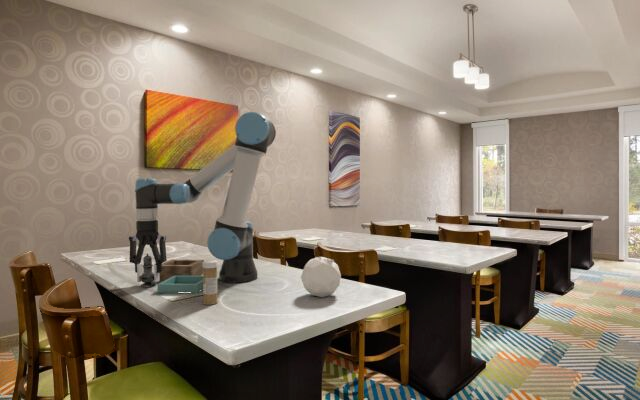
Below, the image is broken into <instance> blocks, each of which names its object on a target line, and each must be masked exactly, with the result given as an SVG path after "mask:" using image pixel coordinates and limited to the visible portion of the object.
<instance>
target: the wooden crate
mask: <svg viewBox="0 0 640 400" xmlns="http://www.w3.org/2000/svg"><path fill="white" fill-rule="evenodd" d="M203 261H205V259H170V260H167V261H166V262H163V263H162V264H161V265H162V271H161V272H160V281H159V282H163V281H165V280H167V279H169V278H171V277H173V276H203Z"/></svg>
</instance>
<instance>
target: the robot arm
mask: <svg viewBox="0 0 640 400" xmlns="http://www.w3.org/2000/svg"><path fill="white" fill-rule="evenodd" d="M234 130H235V131H234V132H235V135H236V138H235V143H234V144H233V145H232V146H230V147H228V149H226V150H225V151H224V152H222V153H221V154H219V155H218V156H217V157H216V158H214V159H213V160H212V161H211V162H209V163H208V164H206V165H205V166H204V167H203V168H201V169H199V171H198V172H196V173H194V175H192V176H191V177H190V178H188V179H187V180H185V181H184V182H183V183H182V182H181V183H178V182H177V183H158V179H156V178H137V179H136V180H135V186H134V187H135V190H134V193H135V219H136V222H135V223H136V224H135V225H136V230H135V231H136V233H135V235H131V236H130V235H129V236H128V241H129V263H131V264H134V272H135V273H136V275H137V277H136V278H137V280H136V281H137V283H140V282H142V281H141V279H140V277H139V276H141V275H142V274H143V265H144V262H143V263H142V258H143V255H144V254H143V253H144V251H145V247H146V245H148V246H149V247H150V249H151V253H152V255H153V259H154V261H155V264H153V274H154V281H153V283H157V282H161V281H160V272H161V271H162V265H161V264H162V263H165V262H167V261H168V260H167V249H166V248H167V247H166V240H167V236H166V235H161V234H160V233H159V221H158V218H159V212H158V210H159V209H158V206H159V205H161V204H162V205H163V204H164V205H165V204H166V205H169V204H170V205H171V204H172V205H173V204H174V205H183V204H189V203H193V202H195V201H197V200H198V199H199V197H200V195H201V194H203V193H204V192H205V191H207V190H208V189H210V188H211V187H212V186H213V185H215V184H216V183H217V182H219V181H220V180H222V179H223V178H224V177H225V176H226V175H228V174H229V173H231V176H230V181H229V185H228V189H227V192H226V193H227V194H226V197H225V201H224V206H223V210H222V214H221V215H220V216H219V217H217V218H216V221H215V223H214V224H215V225H214V229H213V231H211V232H210V234H209V235H208V238H207V243H206V244H207V249H208V251H209V253H210V254H211V255H212V256H213V257H214V258H216V259H218V260H221V261H222V264H221V267H220V270H219V275H218V276H219V277H218V280H219V281H221V282H225V283H244V282H251V281H255V280H257V279H258V269H257V267H256V264H255V261H254V254H253V253H254V243H253V242H254V237H253V236H254V234H253V233H254V232H253V231H254V229H253V227H254V226H253V223H252V222H251V221H246V218H247V214H248V210H249V206H250V201H251V198H252V195H253V191H254V190H253V189H254V186H255V182H256V178H257V173H258V169H259V167H260V166H259V165H260V162H261V158H262V157H263V156H266V155H267V150H268V148H269V146H271V145H272V144H273V142H274V141H275V140H276V134H277V133H276V132H277V130H276V127H275V125H274V124H273V122H272V121H271V120H270V119H268V118H267V117H266V115H264V114H262V113H259V112H256V111H249V112H246V113H243V114H242V115H241V116H239V118H238V119H237V120H236V123H235V125H234ZM158 204H159V205H158ZM137 240H138V246H137ZM157 240H158V241H157ZM158 242H159V243H158ZM158 247H159V248H158Z"/></svg>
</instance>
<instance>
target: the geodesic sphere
mask: <svg viewBox="0 0 640 400" xmlns="http://www.w3.org/2000/svg"><path fill="white" fill-rule="evenodd" d="M300 278H301V282H302V285H303V287H304V290H306V292H307V293H308V294H310V295H311V296H315V297H320V298H325V297H328V296H330V295H333V294H334V293H335V291H337V289H338V287H340V283H341V279H342V274H341V271H340V267H339V265H338V264H337V263H336V262H335V259H333V258H329V257H328V258H327V257H325V256H316V257H314V258H311V259H309V260H308V261H307V262H306V263H305V265H304V267H303V270H302V273H301V276H300Z"/></svg>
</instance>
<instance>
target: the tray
mask: <svg viewBox="0 0 640 400" xmlns="http://www.w3.org/2000/svg"><path fill="white" fill-rule="evenodd" d="M202 289H203V275H201V276H173V277H171V278H169V279H167V280H165V281H160V282H159V283H157V294H179V293H178V292H191V293H197V292H199V291H200V290H202ZM202 291H203V290H202ZM200 292H201V291H200ZM200 292H199V293H200ZM197 294H198V293H197Z"/></svg>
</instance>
